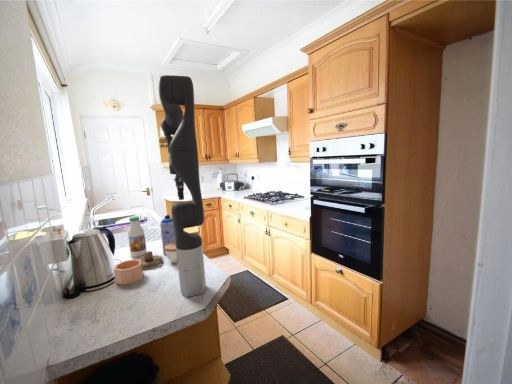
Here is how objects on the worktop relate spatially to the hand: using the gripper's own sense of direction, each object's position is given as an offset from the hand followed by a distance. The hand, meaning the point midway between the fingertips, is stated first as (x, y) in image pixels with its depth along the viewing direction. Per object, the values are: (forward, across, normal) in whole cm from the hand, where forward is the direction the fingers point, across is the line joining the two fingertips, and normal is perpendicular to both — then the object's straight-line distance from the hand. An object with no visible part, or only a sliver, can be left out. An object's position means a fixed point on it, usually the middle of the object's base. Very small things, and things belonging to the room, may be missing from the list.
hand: (181, 198), depth 119 cm
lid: (+30, +3, +17) cm, 34 cm away
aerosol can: (+30, +13, +7) cm, 34 cm away
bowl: (+30, -9, +24) cm, 40 cm away
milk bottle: (+30, +19, +23) cm, 43 cm away
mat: (+30, +3, +17) cm, 35 cm away
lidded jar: (+30, +1, +4) cm, 31 cm away
